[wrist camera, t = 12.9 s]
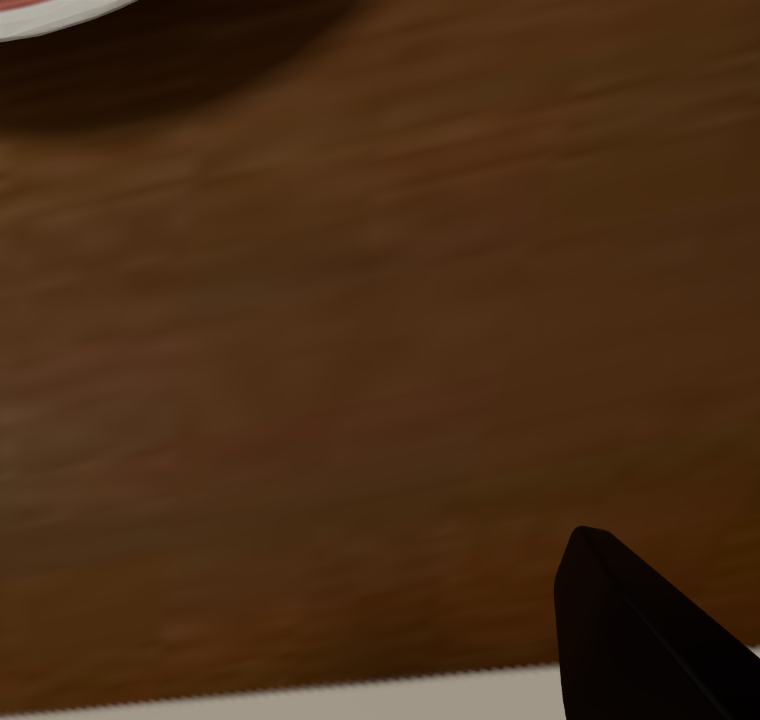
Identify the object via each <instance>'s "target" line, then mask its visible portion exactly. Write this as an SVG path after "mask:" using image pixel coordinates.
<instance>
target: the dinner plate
mask: <svg viewBox="0 0 760 720" xmlns="http://www.w3.org/2000/svg"><path fill="white" fill-rule="evenodd" d="M136 1H138V0H0V42H5V41H12V40H18V39H24V38H30V37H37V36H42V35H45V34H48V33H51V32H55V31H58V30H61V29H64V28H68V27H71V26H74V25H77V24H81V23H84V22H87V21H90V20H93V19H96V18H98V17H101V16H103V15H106V14H108V13H111V12H114V11H116V10H119V9H121V8H123V7H125V6H127V5H129V4H131V3H134V2H136Z"/></svg>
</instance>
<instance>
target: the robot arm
mask: <svg viewBox="0 0 760 720" xmlns="http://www.w3.org/2000/svg"><path fill="white" fill-rule="evenodd" d="M554 602H555V615H556V627H557V639H558V651H559V663H560V675H561V686H562V695H563V703H564V708H565V715H566V720H760V658H759V657H758V656H756V655H755V654H754V653H753V652H752V651H751V650H749V649H748V648H747V647H746V646H745V645H743V644H742V643H741V642H740V641H739V640H737V639H736V638H735V637H734V636H733V635H731V634H730V633H729V632H728V631H727V630H726V629H724V628H723V627H722V626H721V625H720V624H718V623H717V622H716V621H715V620H714V619H712V618H711V617H710V616H709V615H708V614H707V613H705V612H704V611H703V610H702V609H701V608H699V607H698V606H697V605H696V604H695V603H693V602H692V601H691V600H690V599H689V598H687V597H686V596H685V595H684V594H683V593H682V592H680V591H679V590H678V589H677V588H676V587H674V586H673V585H672V584H671V583H670V582H668V581H667V580H666V579H665V578H664V577H663V576H661V575H660V574H659V573H658V572H657V571H655V570H654V569H653V568H652V567H651V566H649V565H648V564H647V563H646V562H645V561H644V560H642V559H641V558H640V557H639V556H638V555H636V554H635V553H634V552H633V551H632V550H630V549H629V548H628V547H627V546H626V545H624V544H623V543H622V542H621V541H620V540H619V539H617V538H616V537H615V536H614V535H613V534H611V533H610V532H609V531H606V530H602V529H597V528H592V527H587V526H578V527H577V528H575V529H574V531H573V532H572V534H571V536H570V539H569V541H568V544H567V547H566V550H565V552H564V555H563V558H562V560H561V563H560V566H559V568H558V571H557V574H556V577H555V582H554Z"/></svg>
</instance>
